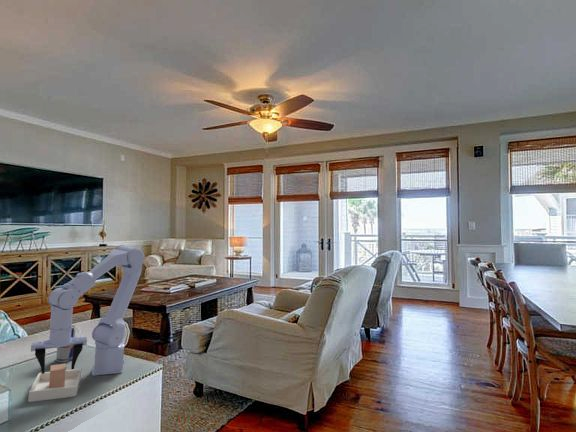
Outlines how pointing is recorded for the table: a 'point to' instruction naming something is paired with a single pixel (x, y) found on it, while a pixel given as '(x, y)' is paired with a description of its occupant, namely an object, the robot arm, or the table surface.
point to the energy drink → (66, 350)
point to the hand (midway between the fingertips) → (58, 370)
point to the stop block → (57, 376)
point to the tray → (43, 392)
